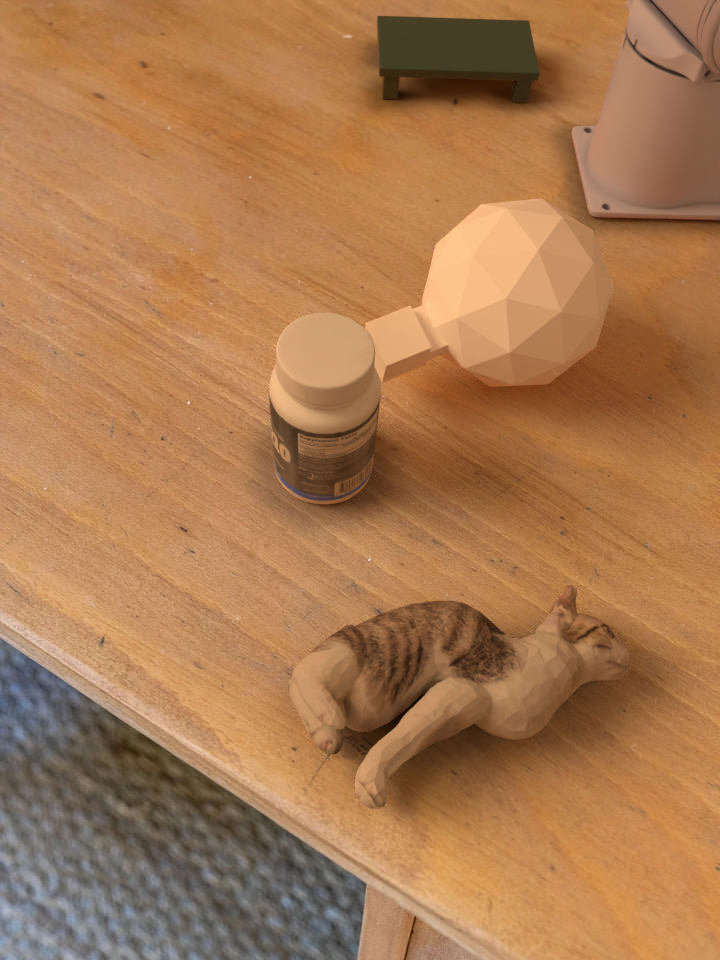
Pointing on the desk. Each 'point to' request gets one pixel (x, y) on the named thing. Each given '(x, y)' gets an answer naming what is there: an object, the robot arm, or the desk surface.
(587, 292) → the perfume bottle
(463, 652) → the figurine
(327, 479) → the pill bottle
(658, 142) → the robot arm
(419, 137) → the desk surface
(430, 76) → the green footed tray
